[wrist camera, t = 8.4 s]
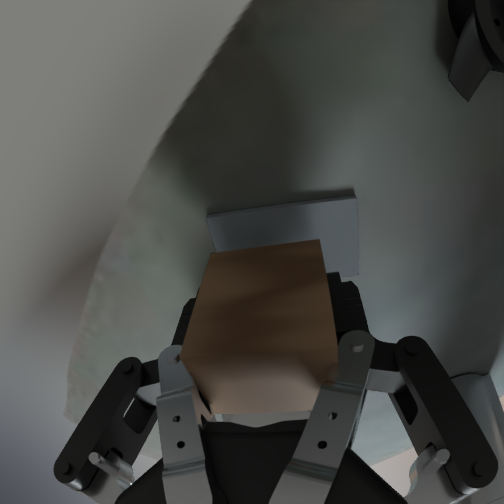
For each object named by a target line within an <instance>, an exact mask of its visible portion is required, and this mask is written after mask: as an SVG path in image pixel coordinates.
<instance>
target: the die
mask: <svg viewBox="0 0 504 504" xmlns="http://www.w3.org/2000/svg"><path fill="white" fill-rule="evenodd" d="M311 411H312V410H305V411H292V412H276V413H251V414H222V418H223V422H233V423H237V424H241V425H245V426H250V427H255V428H256V427H261V426H265V425H269V424H273V423H277V422H280V421H287V420H302V419H309V416H310V414H311Z"/></svg>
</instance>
